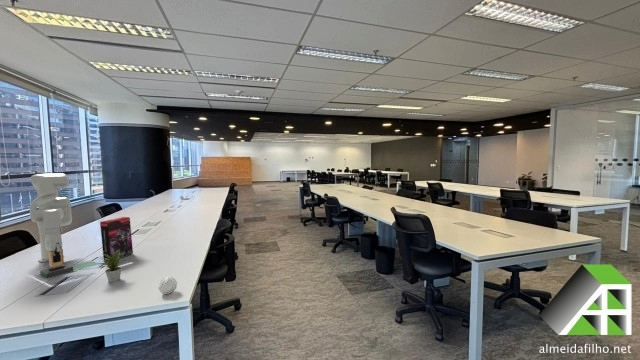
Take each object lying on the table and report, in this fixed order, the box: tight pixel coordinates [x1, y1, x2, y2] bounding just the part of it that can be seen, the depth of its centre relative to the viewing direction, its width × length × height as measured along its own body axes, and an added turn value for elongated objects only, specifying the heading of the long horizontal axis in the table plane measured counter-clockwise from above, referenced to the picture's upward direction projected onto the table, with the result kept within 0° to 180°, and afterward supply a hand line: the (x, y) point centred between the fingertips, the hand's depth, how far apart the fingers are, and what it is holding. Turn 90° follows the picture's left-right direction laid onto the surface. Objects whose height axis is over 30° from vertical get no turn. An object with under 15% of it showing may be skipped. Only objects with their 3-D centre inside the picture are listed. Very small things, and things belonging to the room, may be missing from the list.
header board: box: [35, 260, 100, 280], centre depth 164 cm, size 13×26×4 cm, turn 151°
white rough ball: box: [158, 276, 178, 295], centre depth 132 cm, size 8×8×8 cm
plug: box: [48, 248, 65, 268], centre depth 158 cm, size 4×6×9 cm, turn 151°
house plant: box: [97, 250, 126, 283], centre depth 150 cm, size 14×14×16 cm
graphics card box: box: [99, 216, 134, 261], centre depth 186 cm, size 17×7×27 cm, turn 168°
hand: (55, 261), depth 158 cm, fingers closed on plug, 3 cm apart
